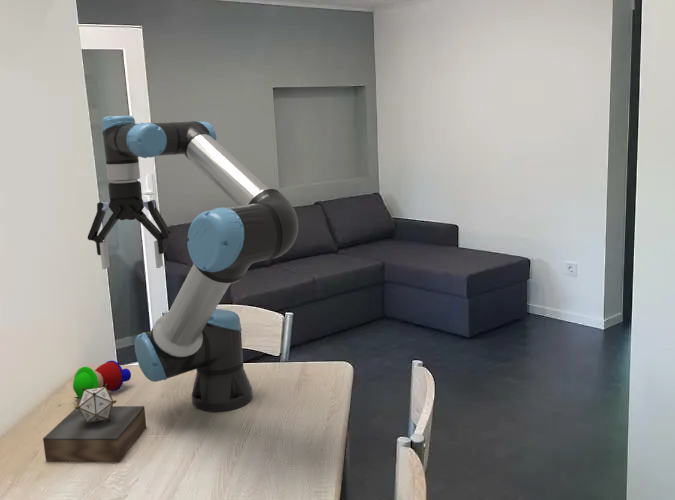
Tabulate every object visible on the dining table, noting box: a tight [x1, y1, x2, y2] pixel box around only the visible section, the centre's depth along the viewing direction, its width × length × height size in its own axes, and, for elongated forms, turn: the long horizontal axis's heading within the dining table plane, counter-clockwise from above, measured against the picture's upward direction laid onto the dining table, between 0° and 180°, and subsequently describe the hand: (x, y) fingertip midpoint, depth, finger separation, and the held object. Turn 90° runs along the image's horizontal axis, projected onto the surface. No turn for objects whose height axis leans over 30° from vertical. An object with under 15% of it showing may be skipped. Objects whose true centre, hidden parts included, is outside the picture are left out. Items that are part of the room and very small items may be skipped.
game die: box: [74, 384, 117, 426], centre depth 148 cm, size 9×8×10 cm
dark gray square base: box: [42, 405, 147, 463], centre depth 149 cm, size 16×16×5 cm
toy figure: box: [72, 360, 132, 401], centre depth 176 cm, size 9×10×15 cm
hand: (132, 267), depth 167 cm, fingers open, 13 cm apart
